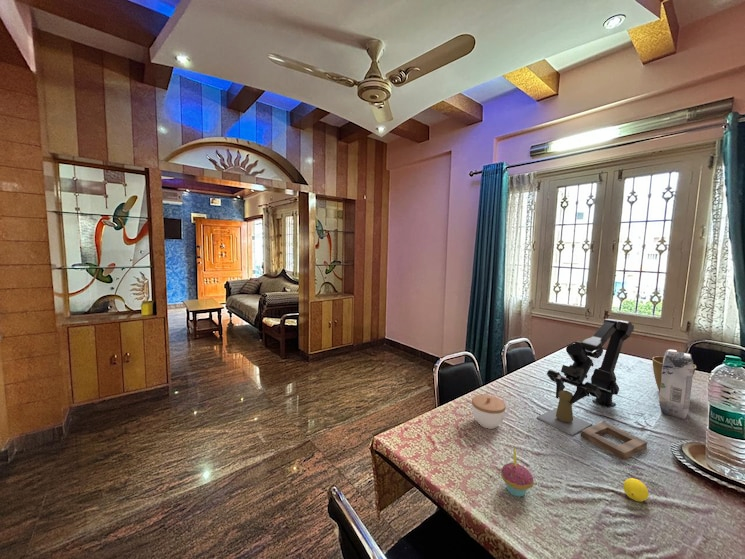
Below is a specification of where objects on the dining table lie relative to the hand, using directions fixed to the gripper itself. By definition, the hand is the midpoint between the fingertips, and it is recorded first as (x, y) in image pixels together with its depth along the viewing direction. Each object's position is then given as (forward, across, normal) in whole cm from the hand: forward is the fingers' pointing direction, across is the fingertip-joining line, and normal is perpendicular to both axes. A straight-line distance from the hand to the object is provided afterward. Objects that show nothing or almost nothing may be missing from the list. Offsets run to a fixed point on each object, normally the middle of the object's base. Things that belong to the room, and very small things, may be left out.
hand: (563, 400), depth 122 cm
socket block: (+5, +16, +8) cm, 19 cm away
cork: (+5, 0, +6) cm, 8 cm away
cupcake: (+40, +13, -27) cm, 50 cm away
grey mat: (+6, 0, +7) cm, 9 cm away
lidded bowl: (+25, -14, -12) cm, 32 cm away
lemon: (+21, +31, -8) cm, 39 cm away
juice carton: (-27, +19, +42) cm, 53 cm away
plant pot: (-42, +12, +56) cm, 71 cm away
